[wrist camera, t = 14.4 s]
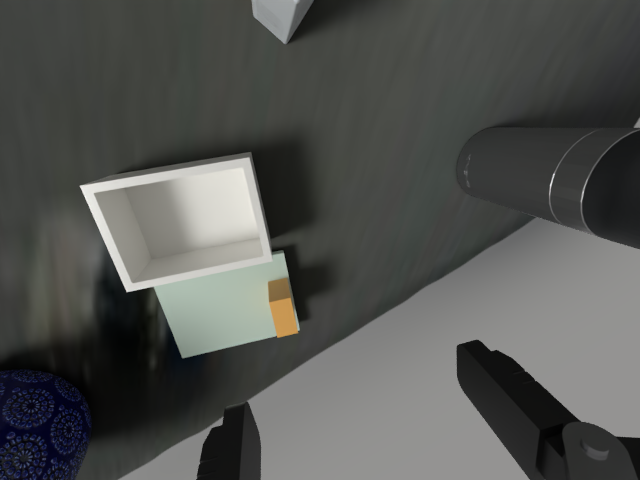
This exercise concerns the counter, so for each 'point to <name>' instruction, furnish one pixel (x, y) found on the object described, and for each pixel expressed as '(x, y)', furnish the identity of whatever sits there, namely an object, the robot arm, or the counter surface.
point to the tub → (181, 220)
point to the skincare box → (281, 15)
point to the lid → (230, 307)
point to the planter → (41, 426)
